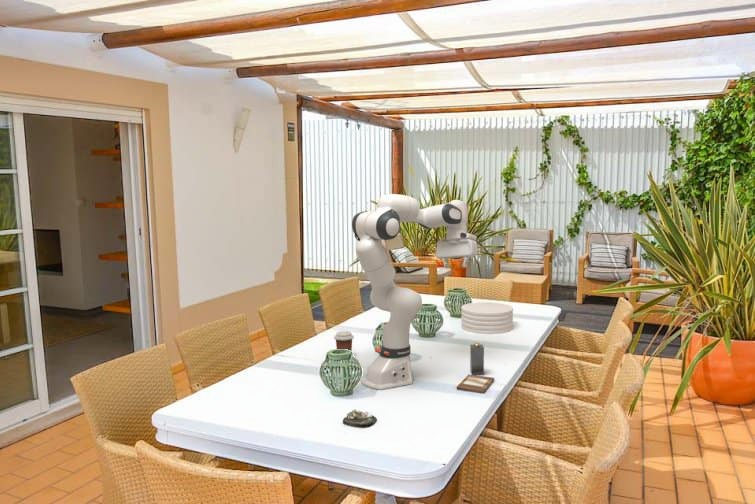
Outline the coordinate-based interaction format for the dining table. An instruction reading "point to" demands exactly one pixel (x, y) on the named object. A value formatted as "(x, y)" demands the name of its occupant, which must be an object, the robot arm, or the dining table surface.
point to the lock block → (476, 359)
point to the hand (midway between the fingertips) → (455, 267)
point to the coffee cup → (344, 340)
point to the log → (359, 419)
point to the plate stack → (487, 318)
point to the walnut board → (475, 383)
